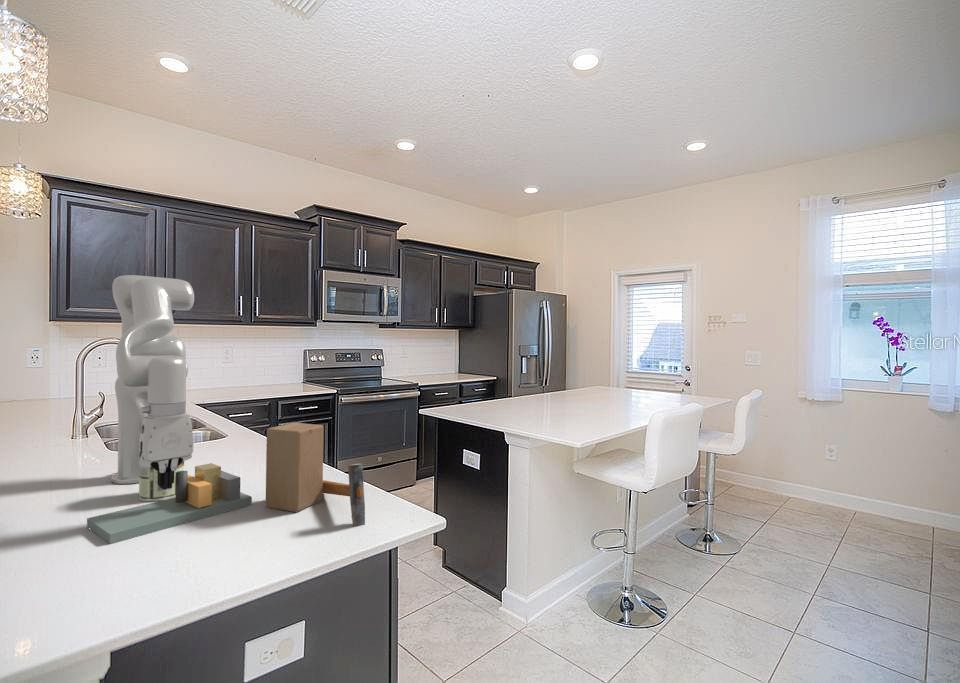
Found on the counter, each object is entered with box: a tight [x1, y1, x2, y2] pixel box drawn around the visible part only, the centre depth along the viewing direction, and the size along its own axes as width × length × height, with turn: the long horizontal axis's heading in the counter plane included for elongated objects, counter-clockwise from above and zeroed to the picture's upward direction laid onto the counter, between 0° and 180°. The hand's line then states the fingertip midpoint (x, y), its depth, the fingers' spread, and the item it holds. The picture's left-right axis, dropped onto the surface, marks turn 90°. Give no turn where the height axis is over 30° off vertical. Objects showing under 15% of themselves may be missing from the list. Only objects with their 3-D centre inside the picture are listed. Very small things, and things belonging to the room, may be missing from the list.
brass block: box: [194, 462, 222, 500], centre depth 121 cm, size 5×4×8 cm
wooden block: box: [265, 422, 325, 513], centre depth 124 cm, size 10×10×20 cm
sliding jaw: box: [175, 470, 212, 508], centre depth 117 cm, size 12×5×8 cm, turn 54°
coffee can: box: [138, 456, 185, 502], centre depth 128 cm, size 10×10×14 cm
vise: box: [86, 470, 253, 545], centre depth 115 cm, size 14×30×7 cm, turn 145°
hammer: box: [322, 463, 366, 527], centre depth 123 cm, size 14×2×30 cm
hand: (165, 487), depth 113 cm, fingers closed
